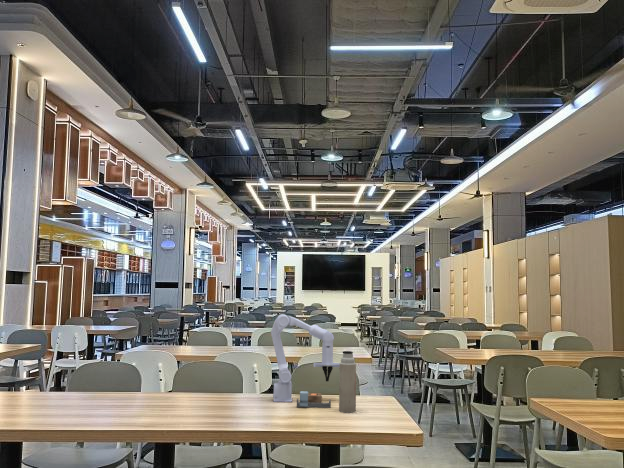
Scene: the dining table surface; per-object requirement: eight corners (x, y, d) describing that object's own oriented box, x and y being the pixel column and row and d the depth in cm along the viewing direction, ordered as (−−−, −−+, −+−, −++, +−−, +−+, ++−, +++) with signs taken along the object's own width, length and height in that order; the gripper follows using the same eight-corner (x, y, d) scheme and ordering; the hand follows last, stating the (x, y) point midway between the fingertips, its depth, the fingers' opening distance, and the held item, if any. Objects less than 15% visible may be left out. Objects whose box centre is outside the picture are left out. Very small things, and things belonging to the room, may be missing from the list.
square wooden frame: (305, 404, 282) (305, 395, 283) (305, 400, 290) (305, 393, 291) (321, 404, 282) (321, 396, 283) (321, 401, 290) (321, 393, 291)
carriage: (299, 406, 273) (299, 393, 274) (299, 404, 278) (300, 391, 279) (307, 406, 273) (308, 393, 274) (307, 404, 278) (308, 391, 279)
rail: (296, 407, 274) (296, 399, 274) (296, 406, 277) (296, 398, 277) (330, 407, 274) (330, 400, 274) (330, 406, 277) (330, 399, 277)
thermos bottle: (356, 409, 271) (357, 350, 273) (354, 413, 263) (355, 352, 266) (340, 408, 272) (340, 350, 275) (337, 412, 264) (338, 351, 267)
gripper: (313, 355, 291) (313, 382, 289) (341, 355, 291) (341, 382, 289) (313, 353, 298) (313, 379, 296) (341, 354, 298) (340, 380, 296)
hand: (327, 381), depth 293 cm, fingers closed
